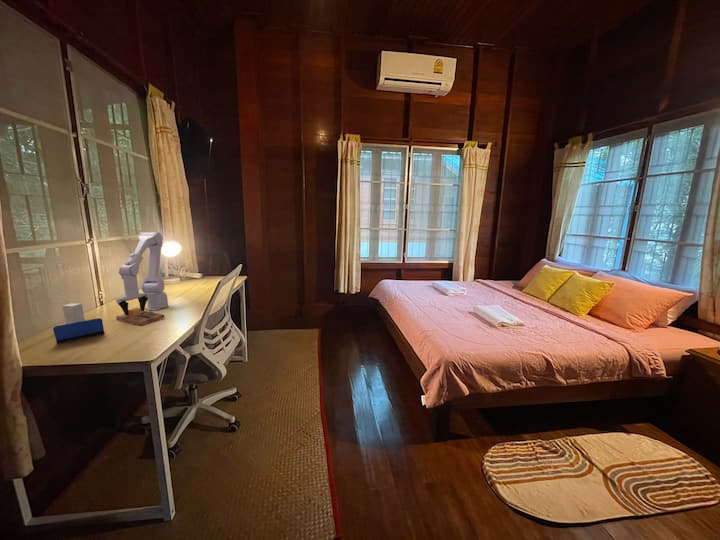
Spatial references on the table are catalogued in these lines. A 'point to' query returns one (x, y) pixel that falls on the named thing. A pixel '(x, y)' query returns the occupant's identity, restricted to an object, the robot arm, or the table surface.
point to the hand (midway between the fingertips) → (134, 312)
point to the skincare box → (73, 313)
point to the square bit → (134, 312)
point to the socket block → (141, 318)
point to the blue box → (78, 330)
